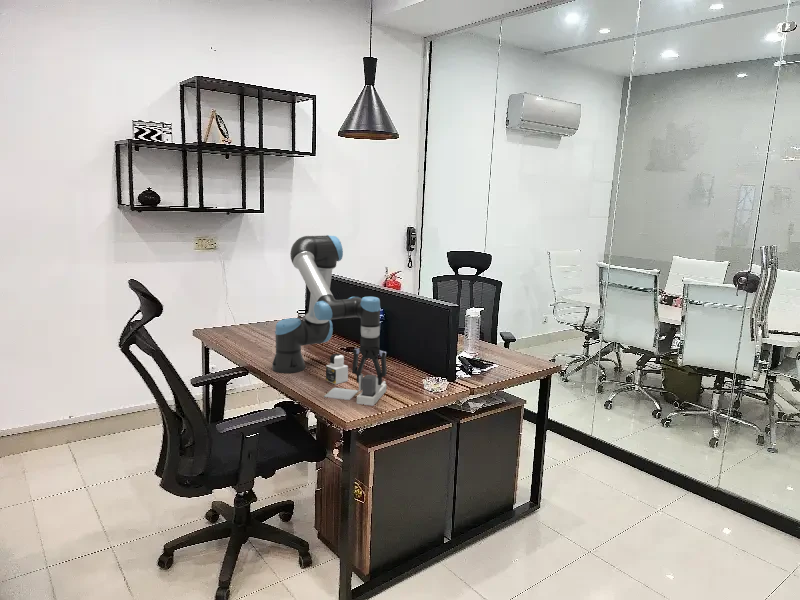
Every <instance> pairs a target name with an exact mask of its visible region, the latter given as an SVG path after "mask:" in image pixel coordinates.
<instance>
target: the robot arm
mask: <svg viewBox="0 0 800 600" xmlns="http://www.w3.org/2000/svg"><path fill="white" fill-rule="evenodd" d="M343 253H344V250H343V246H342V242H341V241H340V238H339V237H337V236H336V235H328V234H326V235H304V236H301V237H299V238H298V239H296V240H295V242H294V243H293V244H292V246H291V249H290V254H289V255H290V260H291V263H292V265H293V267H294V268H295V269H297V270H298V272H299V273H300V275H301V277H302V279H303V281H304V283H305V285H306V287H307V288H308V290H309V292H310V295H309V296H310V298H309V306H308V312H307V313H306V314H305V315H304V320H301V319H300V318H298V317H293V318H292V317H291V318H290V317H287V318H284V319H282V320H279V321H278V322H276V325H275V331H274V335H275V354H274V357H273V361H272V364H271V369H272V370H273V371H274V372H277V373H281V374H292V373H299V372H301V371H304V369H305V368H306V362H305V360H304V357H303V354H302V346H309V345H315V344H318V345H320V344H322V343H327V342H329V341H330V340H331V338H332V336H333V332H334V330H333V329H334V327H333V322H332V320H338V319H347V318H359V319H360V335H361V336H360V339H359V340H360V346H359V348H357V347H356V348H354V349H353V350H352V353H353V358H352V359H353V360H352V371H351V372H352V374H355V375H356V383H358V392H362V386H363V377H364V373H362V371H363V369H364V366H365V364H366V361H367V360H372V362H373V366H374V368H375V373H376V393H378V392H379V388H380V385H381V384H382V382H383V378H384V377H386V376H387V374H388V373H387V371H388V370H387V360H386V358H387V355H388V352H387V351H386V350H385V351H384V350H381V347H380V334H381V333H380V330H381V328H380V327H381V325H380V324H381V323H380V322H381V321H380V320H381V300H380V298H379V297H376V296H364V297H362V298H361V297H359V296H351V297H348V298H347V299H346V298H345V299H335V297H334V295H333V293H332V291H331V282H332V275H333V270H334V269H335V268H337V263H338V262H340V261H342V260H343V255H344V254H343ZM359 354H361V359H360V360H361V361H360V363H359ZM378 355H380V361H381V365H380V362H379V358H378V357H379V356H378ZM358 363H359V364H358Z"/></svg>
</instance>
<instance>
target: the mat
mask: <svg viewBox="0 0 800 600" xmlns="http://www.w3.org/2000/svg"><path fill="white" fill-rule="evenodd" d="M358 393H359V389H358V390H357V389H349V388H340V387H333V388H332V389H331V390H329V391H328V392H327V393H326V394H325V395H324V396H323V397H324V398H327V397H328V398H329V399H335V400H336V399H337V400H343V399H344V400H345V401H350V400H351V399H353V397H354V396H356V394H358Z"/></svg>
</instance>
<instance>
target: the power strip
mask: <svg viewBox="0 0 800 600" xmlns="http://www.w3.org/2000/svg"><path fill="white" fill-rule="evenodd" d="M386 383H387V382H386V381H385V380H382V384H381V385H380V388H379V392H378V393H376V394H375V395H374V396H373V397H371V396H363V395H362V391H360V393H359V394H358V395H357V396H356V405H363V404H364V405H365V406H372V407H373V406H375V405H376V403H377V402H378V401H379V400H380V399H381V398H382V396H383V395H384V394H385V393H386V392H387V386H388V385H387V384H386Z"/></svg>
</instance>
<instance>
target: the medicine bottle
mask: <svg viewBox="0 0 800 600" xmlns="http://www.w3.org/2000/svg"><path fill="white" fill-rule="evenodd" d="M325 381H327V382H329V383H331V384H333V385H338V384H342V383H346V382H348V381H349V366H348V365H347V364H345V356H344V355H343V354H341V353H333V354H331V355H330V356H329V364H327V365H325Z"/></svg>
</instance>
